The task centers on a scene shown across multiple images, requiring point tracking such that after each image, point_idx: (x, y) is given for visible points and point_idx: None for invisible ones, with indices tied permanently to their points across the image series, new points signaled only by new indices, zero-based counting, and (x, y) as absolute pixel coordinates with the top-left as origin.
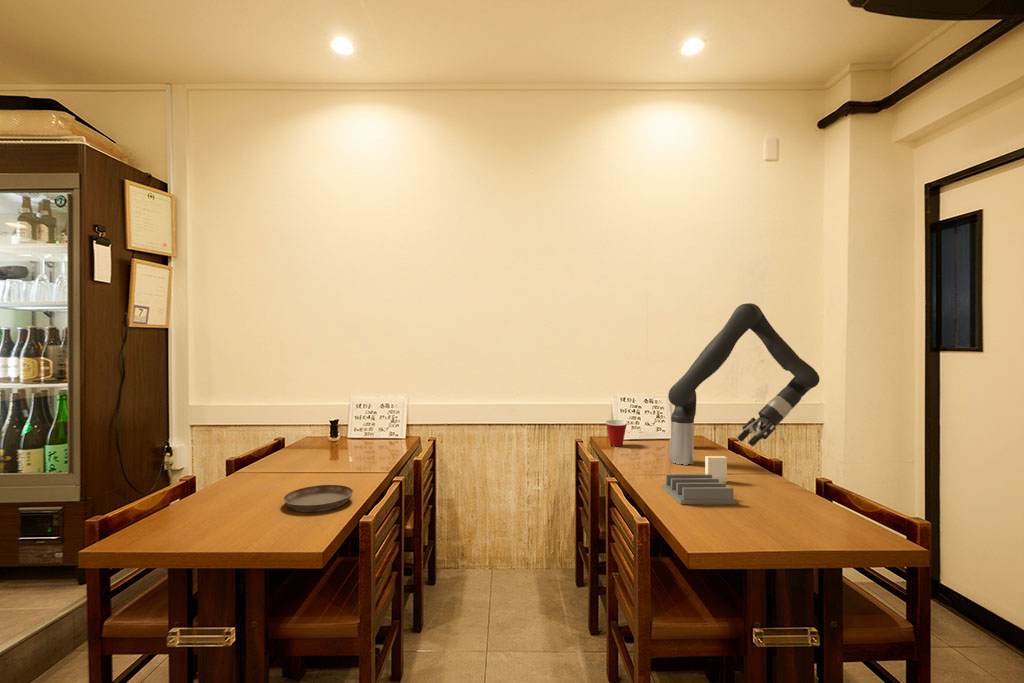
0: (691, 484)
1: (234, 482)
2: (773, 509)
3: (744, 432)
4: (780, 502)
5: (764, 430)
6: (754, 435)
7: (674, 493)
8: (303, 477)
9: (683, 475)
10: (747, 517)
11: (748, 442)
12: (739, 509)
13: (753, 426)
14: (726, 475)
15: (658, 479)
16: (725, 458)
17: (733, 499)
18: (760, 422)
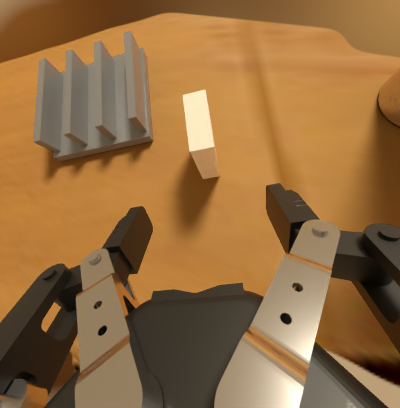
0: (66, 74)
1: None
2: (34, 214)
3: (288, 224)
4: (67, 244)
5: (9, 315)
6: (119, 243)
7: (88, 65)
8: None
9: (126, 62)
10: (8, 161)
11: (139, 207)
12: (39, 159)
13: (242, 302)
14: (200, 172)
15: (208, 48)
16: (189, 147)
17: (53, 152)
18: (77, 397)
